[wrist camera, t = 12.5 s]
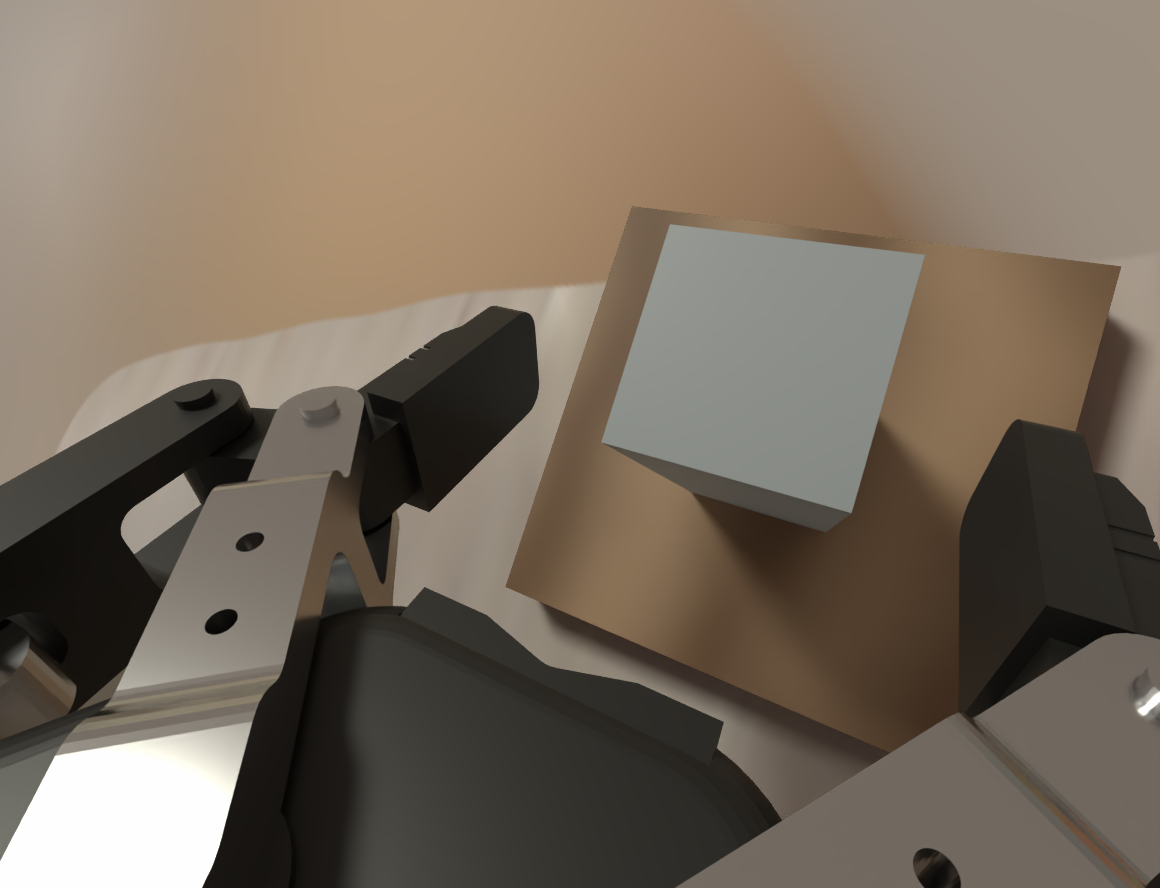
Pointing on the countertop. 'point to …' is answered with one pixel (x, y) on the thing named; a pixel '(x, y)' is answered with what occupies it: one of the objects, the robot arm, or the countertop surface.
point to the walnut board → (801, 554)
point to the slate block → (763, 369)
